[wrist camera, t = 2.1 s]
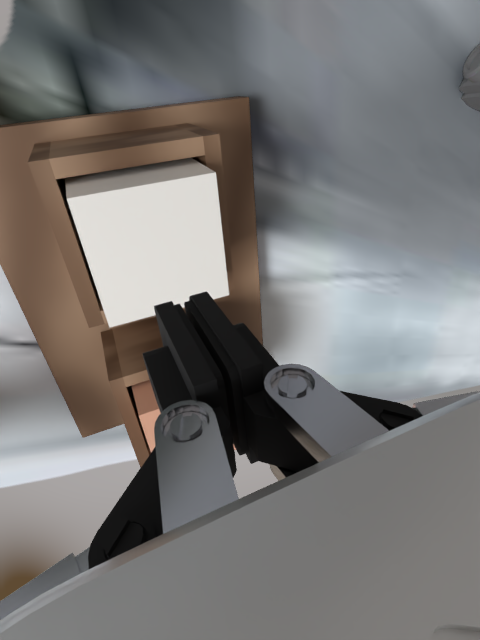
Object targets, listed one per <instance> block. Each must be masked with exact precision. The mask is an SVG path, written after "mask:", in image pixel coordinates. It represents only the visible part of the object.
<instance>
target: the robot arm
mask: <svg viewBox="0 0 480 640" xmlns="http://www.w3.org/2000/svg"><path fill="white" fill-rule="evenodd" d="M184 306H185V311H186V313H185V311H184V310H183V308H182V306H181V305H180V304H176V305H174V304H173V302H172V301H170V302H166V303H162V304H159V305H155V306H154V310H155V314H156V318H157V322H158V326H159V330H160V334H161V338H162V343H163V347H161V348H158V349H155V350H151V351H148V352H145V353H142V354H143V358H144V362H145V365H146V369H147V372H148V376H149V379H150V382H151V386H152V389H153V392H154V395H155V398H156V401H157V404H158V407H159V410H160V413H161V414H160V415H159V416H158V418H157V420H156V422H155V426H154V436H155V448H154V449H153V451H152V452H151V454H150V455H149V457H148V458H147V460H146V461H145V463H144V464H143V465H142V467H141V468H140V470H139V472H138V473H137V474H136V476H135V477H134V479H133V480H132V482H131V483H130V485H129V486H128V487H127V489H126V491H125V492H124V493H123V495H122V497H121V498H120V499H119V501H118V502H117V504H116V505H115V507H114V508H113V510H112V511H111V512H110V514H109V515H108V517H107V518H106V520H105V521H104V523H103V524H102V526H101V527H100V529H99V530H98V531H97V533H96V535H95V537H94V539H93V541H92V543H91V545H90V547H89V548H87V549H86V550H85V551H83V552H82V553H80V554H79V555H77V556H76V557H75V555H74V554H73V553H71V554H70V555H68V556H67V557H65V558H64V559H62V560H61V561H59V562H58V563H56V564H55V565H54V566H52V567H50V568H49V569H48V570H46V571H45V572H43V573H42V574H40V575H39V576H37V577H36V578H34V579H33V580H31V581H30V582H28V583H27V584H25V585H24V586H22V587H21V588H19V589H18V590H16V591H15V592H13V593H12V594H10V595H9V596H8V597H6V598H4V599H3V600H2V601H0V640H480V392H471V393H466V394H461V395H455V396H450V397H444V398H439V399H434V400H428V401H423V402H418V403H414V404H413V408H411V407H409V406H407V405H403V404H400V403H397V402H392V401H387V400H382V399H377V398H372V397H367V396H362V395H357V394H352V393H347V392H342V391H339V390H338V389H336V388H335V387H334V386H333V385H331V384H330V383H329V382H328V381H326V380H325V379H324V378H323V377H321V376H320V375H319V374H318V373H316V372H315V371H314V370H312V369H310V368H308V367H306V366H303V365H299V364H286V365H281V366H279V365H278V364H277V362H276V361H275V360H274V359H273V358H272V356H271V355H270V354H269V353H268V352H267V350H266V349H265V348H264V347H263V345H262V344H261V343H260V342H259V341H258V339H257V338H256V337H255V336H254V335H253V333H252V332H251V331H250V330H249V328H248V327H247V326H246V325H245V324H244V323H239V324H235V325H233V324H232V323H231V322H230V321H229V319H228V318H227V317H226V315H225V314H224V313H223V311H222V310H221V309H220V308H219V306H218V305H217V304H216V302H215V301H214V300H213V298H212V297H211V296H210V295H209V293H208V292H207V291H206V292H202V293H199V294H195V295H191V296H190V297H189V301H187V302H184ZM233 444H234V445H233ZM234 446H235V448H236V450H237V452H238V453H239V455H243V454H245V453H246V455H247V457H248V459H249V460H250V463H251V464H252V463H254V462H257V461H261V462H264V463H268V464H270V469H271V471H272V472H273V474H274V475H275V477H276V478H277V479H278V482H276V483H274V484H271V485H269V486H267V487H265V488H263V489H260V490H258V491H256V492H254V493H251V494H249V495H247V496H245V497H243V498H241V499H239V498H238V495H237V491H236V488H235V484H234V480H233V477H234V475H235V473H236V470H237V469H236V462H235V452H234Z"/></svg>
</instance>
